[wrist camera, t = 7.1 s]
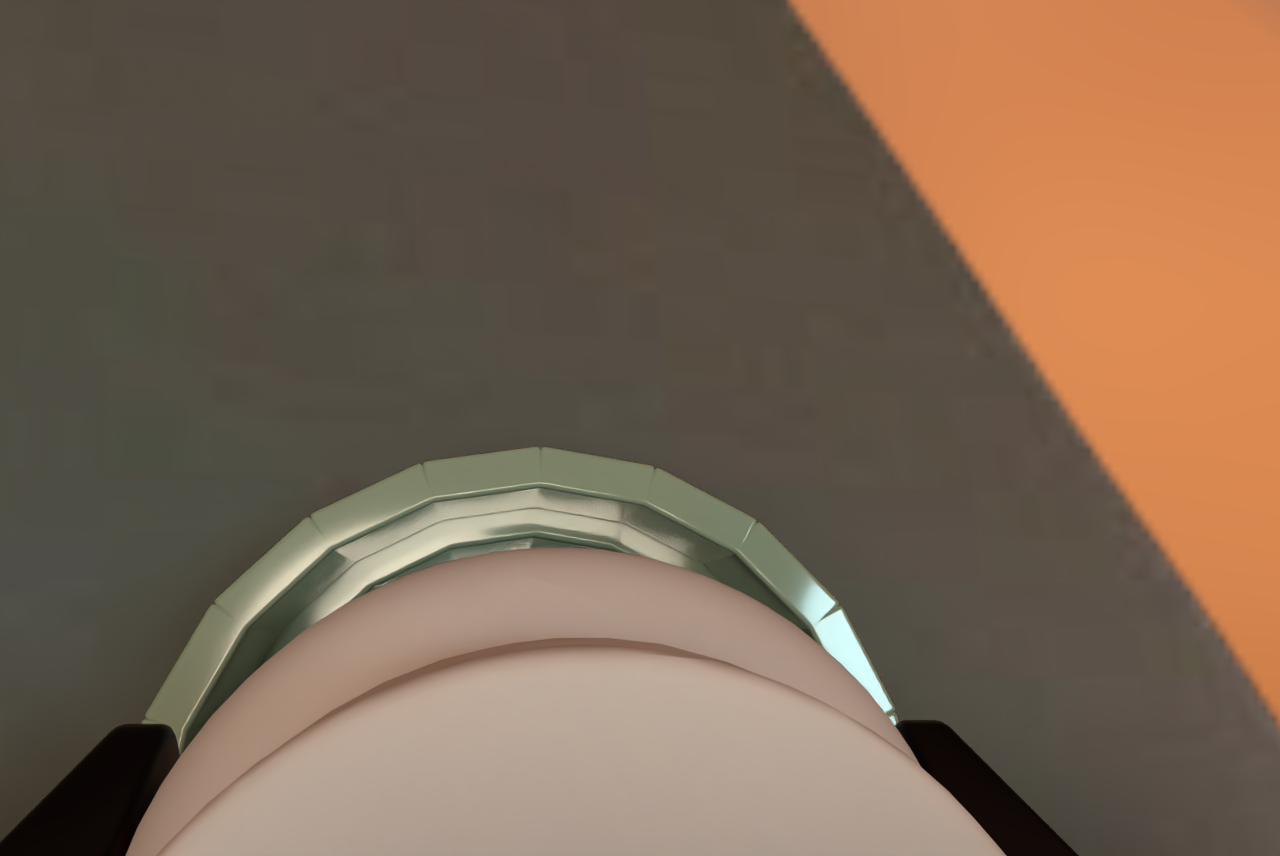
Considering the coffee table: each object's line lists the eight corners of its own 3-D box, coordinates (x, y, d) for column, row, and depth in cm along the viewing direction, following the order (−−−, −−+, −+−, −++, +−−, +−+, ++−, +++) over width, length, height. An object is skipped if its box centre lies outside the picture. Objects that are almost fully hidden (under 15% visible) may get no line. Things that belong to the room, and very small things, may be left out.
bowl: (896, 655, 18) (1030, 662, 13) (651, 1219, 16) (713, 1448, 11) (408, 399, 17) (379, 318, 13) (96, 939, 15) (-64, 1060, 11)
